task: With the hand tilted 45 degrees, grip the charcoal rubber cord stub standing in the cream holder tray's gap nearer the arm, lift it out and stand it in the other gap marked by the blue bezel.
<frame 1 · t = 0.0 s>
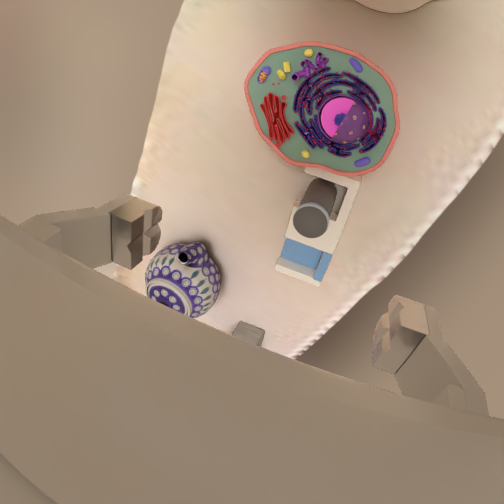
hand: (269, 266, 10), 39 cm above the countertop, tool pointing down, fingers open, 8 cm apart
cream holder tray: (312, 222, 52), on the countertop
skincare box: (249, 333, 74), on the countertop
cell model: (328, 101, 41), on the countertop
teapot: (196, 264, 67), on the countertop
stub: (322, 191, 49), resting in cream holder tray
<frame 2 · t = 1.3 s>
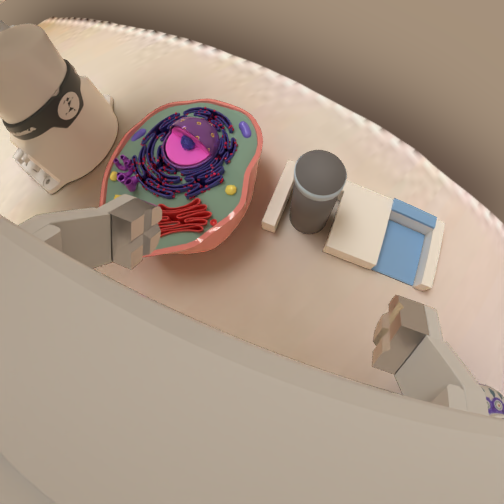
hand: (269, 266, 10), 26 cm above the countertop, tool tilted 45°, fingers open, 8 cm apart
cream holder tray: (355, 233, 36), on the countertop
cell model: (193, 200, 39), on the countertop
teapot: (429, 434, 30), on the countertop
stub: (308, 215, 37), resting in cream holder tray
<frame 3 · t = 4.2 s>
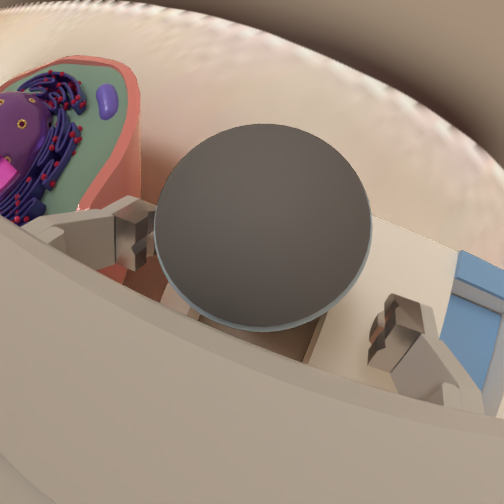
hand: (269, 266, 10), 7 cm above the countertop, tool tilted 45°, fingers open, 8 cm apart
cream holder tray: (372, 328, 16), on the countertop
cell model: (59, 251, 19), on the countertop, touching gripper
stub: (270, 290, 17), resting in cream holder tray
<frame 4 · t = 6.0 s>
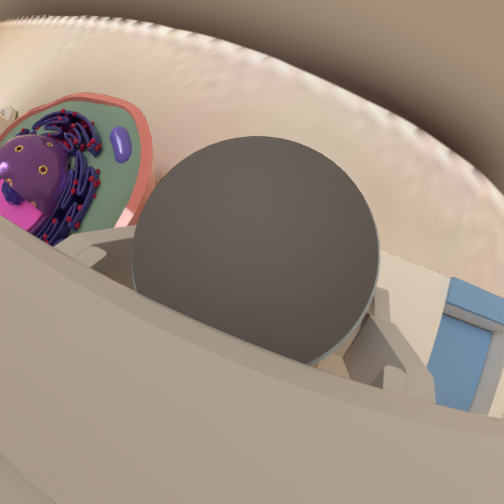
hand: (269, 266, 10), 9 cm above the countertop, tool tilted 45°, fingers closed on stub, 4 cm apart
cream holder tray: (370, 346, 18), on the countertop
cell model: (81, 274, 21), on the countertop
stub: (267, 305, 16), point 3 cm above the countertop, touching gripper
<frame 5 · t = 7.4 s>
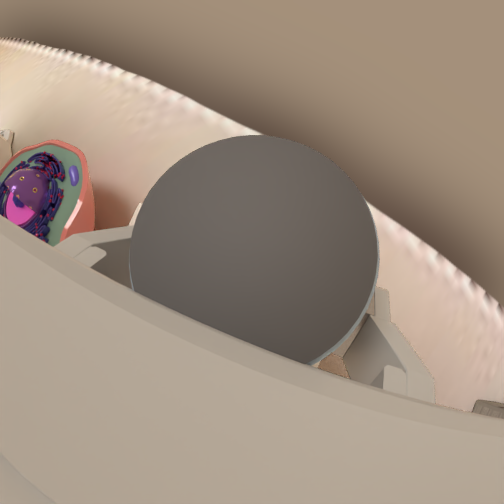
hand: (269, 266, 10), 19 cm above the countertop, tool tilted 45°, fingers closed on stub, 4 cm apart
skincare box: (484, 430, 24), on the countertop
cell model: (57, 248, 32), on the countertop
stub: (266, 305, 16), point 13 cm above the countertop, touching gripper
when the fingers open (8 cm above the countertop, at t = 9.9 s): stub drops 1 cm, resting on cream holder tray.
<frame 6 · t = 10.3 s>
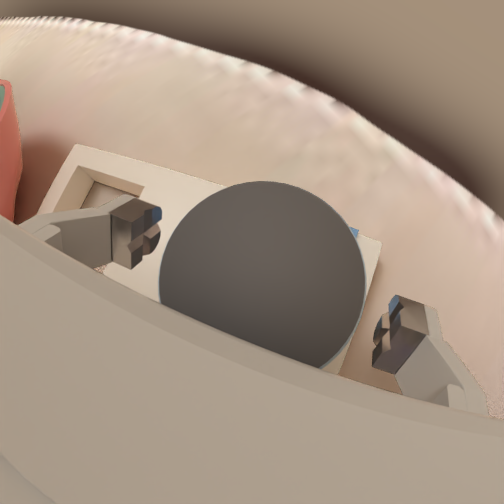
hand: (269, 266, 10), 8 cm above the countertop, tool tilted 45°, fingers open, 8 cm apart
cream holder tray: (175, 269, 19), on the countertop
stub: (267, 307, 17), resting on cream holder tray
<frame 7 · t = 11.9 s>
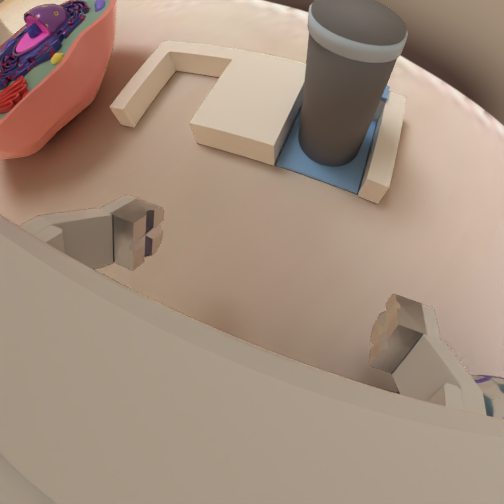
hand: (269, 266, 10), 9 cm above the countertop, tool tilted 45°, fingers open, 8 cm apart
cream holder tray: (253, 118, 22), on the countertop
cell model: (60, 109, 25), on the countertop
teapot: (401, 473, 15), on the countertop, touching gripper
stub: (329, 139, 21), resting on cream holder tray
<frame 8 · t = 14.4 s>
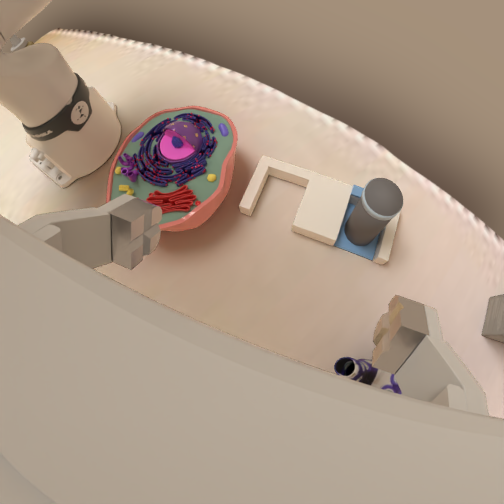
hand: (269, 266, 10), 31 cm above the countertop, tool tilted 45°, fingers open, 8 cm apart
cream holder tray: (320, 216, 43), on the countertop
squeeze bottle: (43, 77, 59), on the countertop
skincare box: (499, 324, 37), on the countertop
cell model: (184, 190, 46), on the countertop
teapot: (394, 397, 36), on the countertop
stub: (359, 230, 42), resting on cream holder tray
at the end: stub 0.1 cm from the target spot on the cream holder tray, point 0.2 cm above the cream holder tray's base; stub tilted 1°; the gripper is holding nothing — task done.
